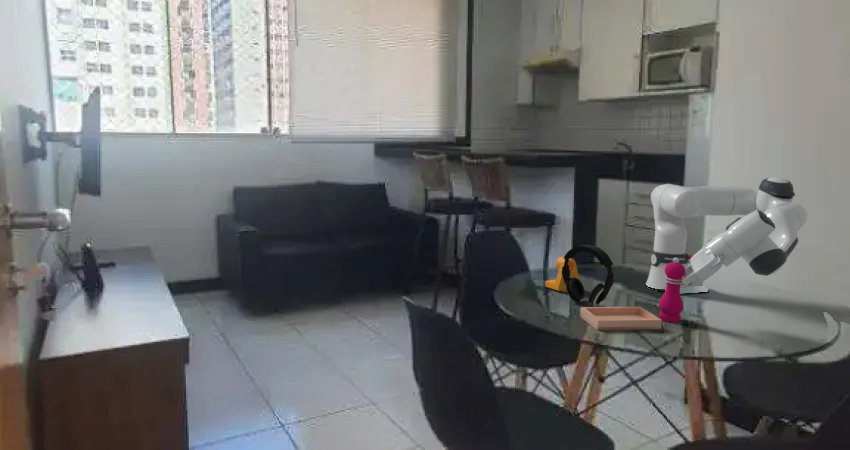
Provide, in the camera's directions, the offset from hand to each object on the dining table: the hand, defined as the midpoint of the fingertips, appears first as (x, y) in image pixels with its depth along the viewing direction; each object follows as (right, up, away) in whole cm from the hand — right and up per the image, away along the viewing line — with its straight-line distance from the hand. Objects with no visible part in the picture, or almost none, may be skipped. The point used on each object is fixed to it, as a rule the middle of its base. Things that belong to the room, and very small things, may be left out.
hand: (682, 279), depth 183 cm
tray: (-20, -13, -1) cm, 24 cm away
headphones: (-26, -10, +17) cm, 32 cm away
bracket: (-29, -7, +36) cm, 47 cm away
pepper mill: (-2, -13, +4) cm, 14 cm away
